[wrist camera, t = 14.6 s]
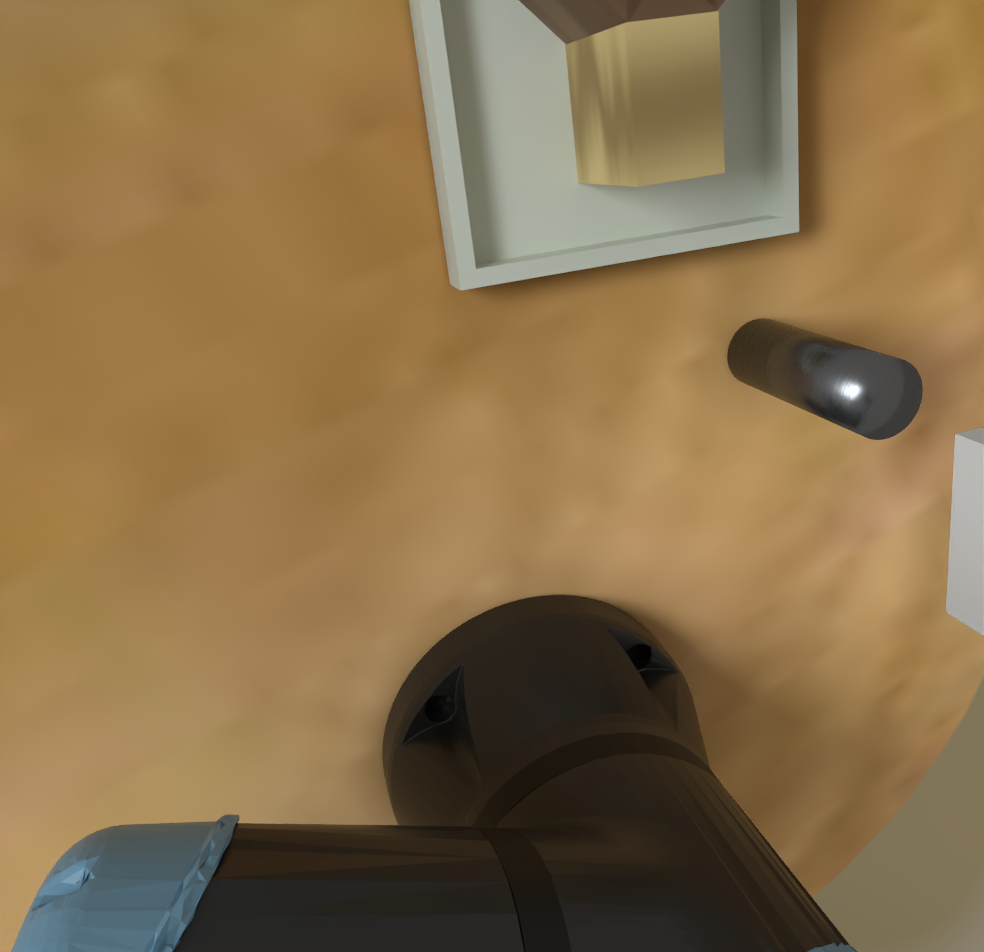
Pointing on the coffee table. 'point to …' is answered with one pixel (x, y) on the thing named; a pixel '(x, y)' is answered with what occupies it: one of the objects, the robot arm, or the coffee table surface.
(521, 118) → the tray
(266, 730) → the coffee table surface
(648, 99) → the brown octagonal handled piece
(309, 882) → the robot arm
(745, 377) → the cylinder
